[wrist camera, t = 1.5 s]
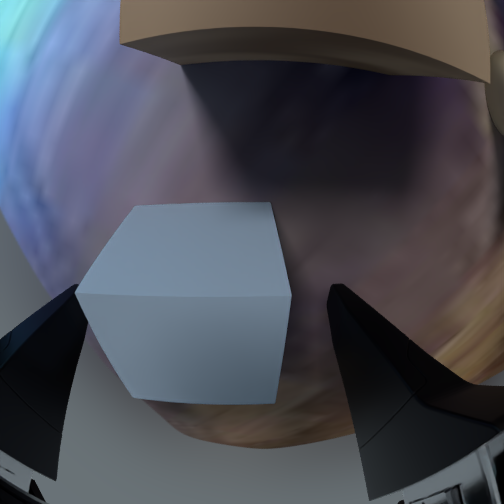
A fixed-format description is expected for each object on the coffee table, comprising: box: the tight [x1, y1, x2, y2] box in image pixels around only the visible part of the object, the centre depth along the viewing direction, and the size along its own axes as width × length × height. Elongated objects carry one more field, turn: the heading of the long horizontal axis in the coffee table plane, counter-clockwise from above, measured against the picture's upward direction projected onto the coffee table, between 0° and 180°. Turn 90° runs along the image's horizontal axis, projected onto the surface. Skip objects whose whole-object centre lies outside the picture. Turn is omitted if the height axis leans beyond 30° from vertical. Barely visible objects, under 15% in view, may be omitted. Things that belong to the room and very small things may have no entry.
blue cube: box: [75, 202, 292, 405], centre depth 9 cm, size 5×5×5 cm
